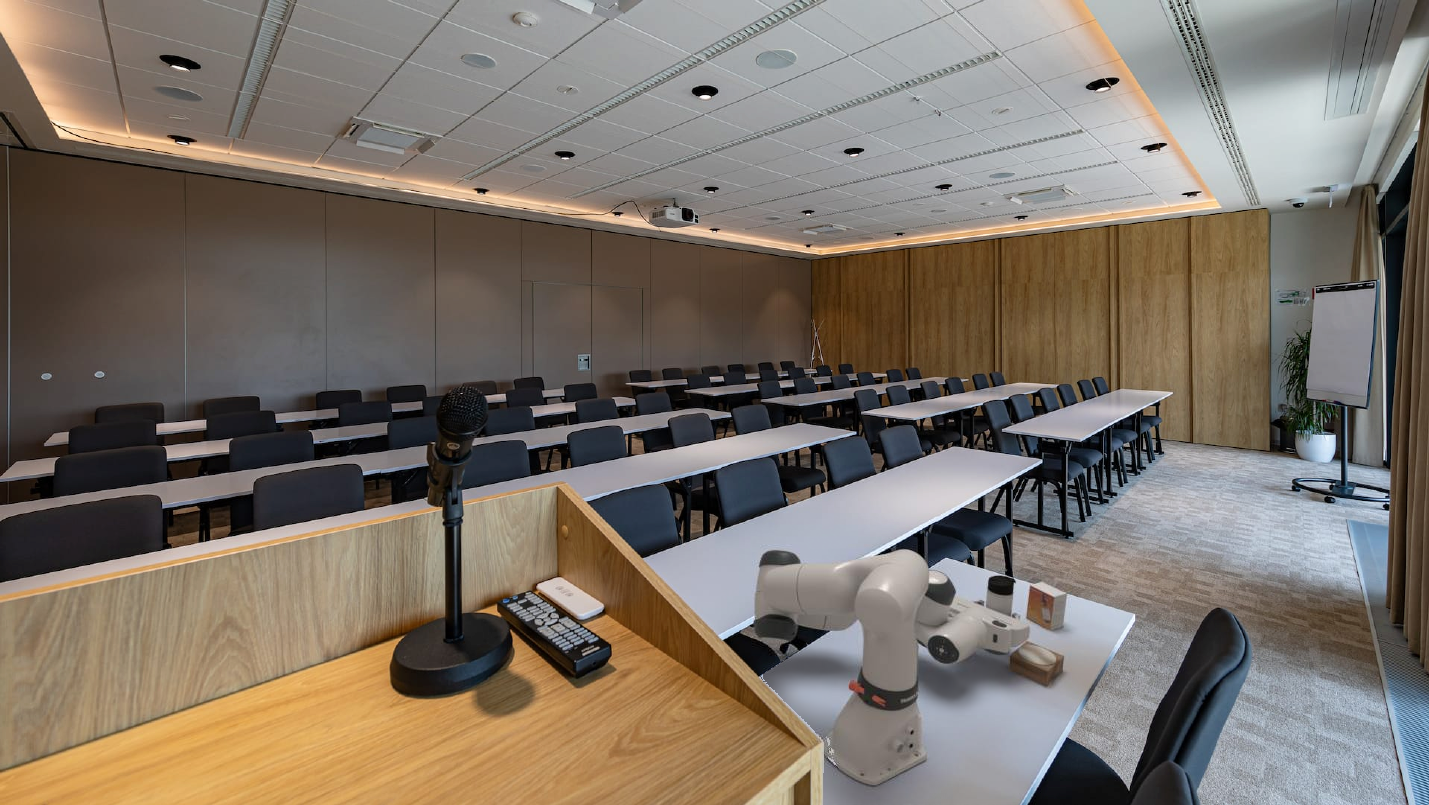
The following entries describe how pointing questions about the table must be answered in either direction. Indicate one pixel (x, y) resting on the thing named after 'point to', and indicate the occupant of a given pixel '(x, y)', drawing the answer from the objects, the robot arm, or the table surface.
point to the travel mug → (1000, 597)
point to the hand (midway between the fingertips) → (999, 609)
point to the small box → (1046, 606)
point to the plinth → (1036, 663)
